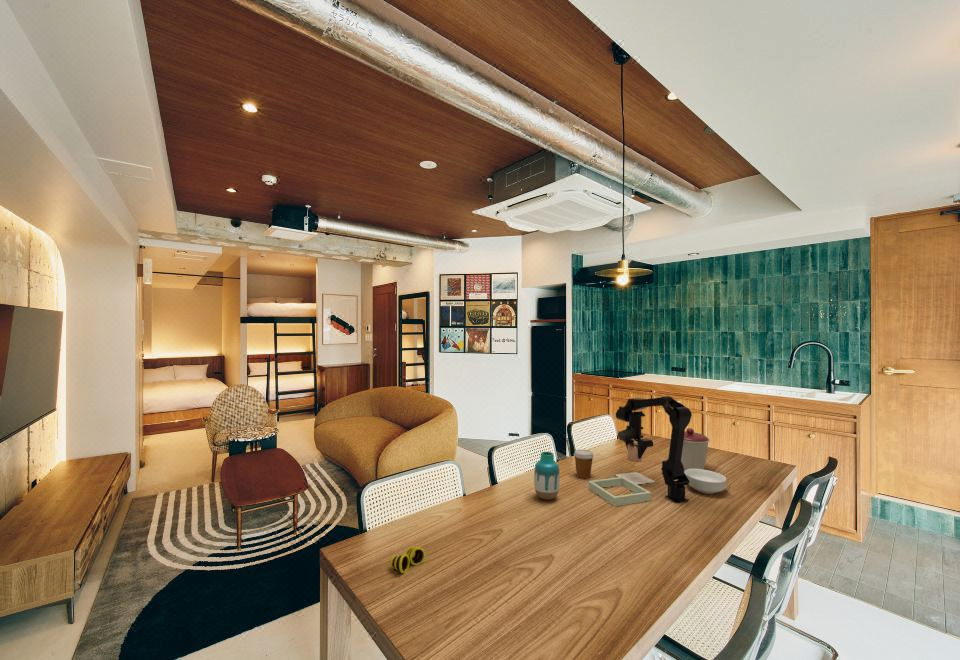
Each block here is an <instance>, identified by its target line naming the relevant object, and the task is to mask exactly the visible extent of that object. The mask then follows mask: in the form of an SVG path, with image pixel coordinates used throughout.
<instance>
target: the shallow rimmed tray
mask: <svg viewBox="0 0 960 660" xmlns="http://www.w3.org/2000/svg"><path fill="white" fill-rule="evenodd" d="M619 485H623V486H622V487H623V488H625V487H626V488H625V489H627V488H628V489H627V490H629V491H630V490H631V491H630V492H632V491H633V492H632V493H630V494H622V495H616V496H615V495H614V494H612V493H610V492H609V491H607V490H606V489H605V488H602V487H608V488H612V487H611V486H616V487H620V486H619ZM589 489H590V490H589ZM588 490H589V491H591V490H592V491H593V493H594V492H595V493H596V494H595V493H594V494H595V495H597V494H598V495H599V496H598V495H597V496H598V497H599V498H601V497H602V498H601V499H602V500H604V499H605V500H606V502H607V503H608V502H609V503H608V504H610V505H611V504H612V505H611V506H613V507H621V506H626V505H632V503H634V504H638V503H639V502H640V503H645V501H647V502H651V501H652V492H651V491H650V490H648V489H645V488H644V487H642V486H641V485H636V484H635V483H633V482H631V481H629V480H627V479H626V478H624V477H611V478H604V479H602V478H601V479H596V480H589V481H588ZM592 491H591V492H592ZM605 500H604V501H605Z"/></svg>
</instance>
